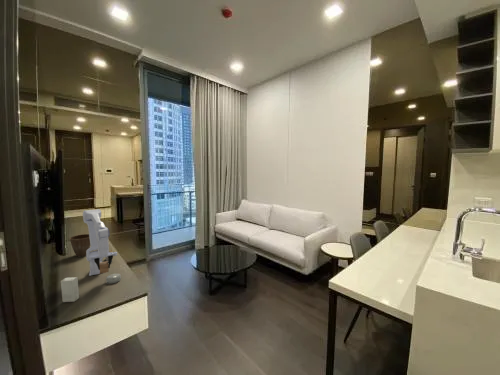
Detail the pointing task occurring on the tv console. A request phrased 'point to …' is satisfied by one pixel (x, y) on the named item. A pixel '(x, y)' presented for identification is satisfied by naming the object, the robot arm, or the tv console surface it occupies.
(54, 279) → the tv console surface
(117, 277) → the pale grey round disc
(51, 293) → the tv console surface
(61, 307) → the tv console surface
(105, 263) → the walnut block
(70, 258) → the tv console surface
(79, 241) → the plant pot
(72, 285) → the skincare box
